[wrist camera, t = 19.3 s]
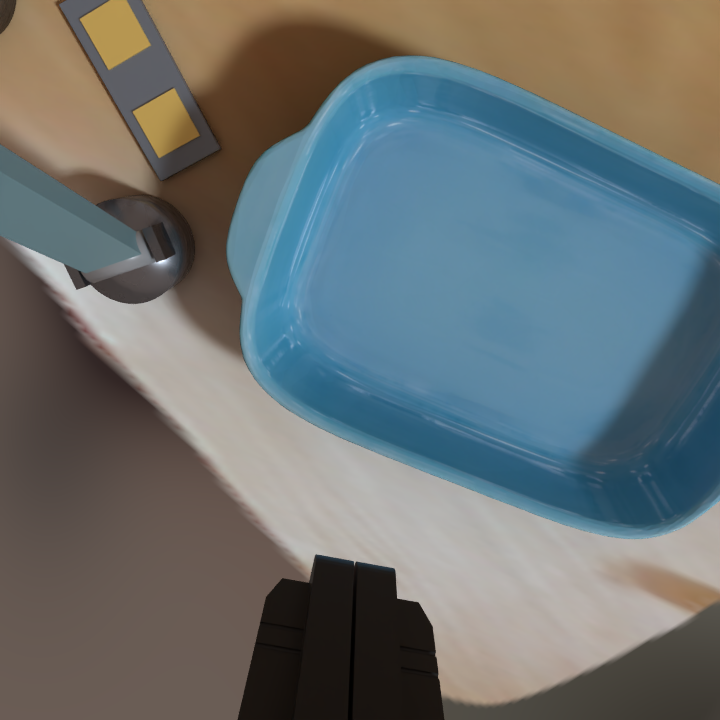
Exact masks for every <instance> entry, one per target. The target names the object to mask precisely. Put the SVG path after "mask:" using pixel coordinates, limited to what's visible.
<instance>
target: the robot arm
mask: <svg viewBox="0 0 720 720" xmlns="http://www.w3.org/2000/svg"><path fill="white" fill-rule="evenodd" d="M435 653H436V650H435V642H434V634H433V626H432V625H431V623H430V621H429V619H428V618H427V616H426V614H425V613H424V611H423V609H422V607H421V606H420V604H419V602H413V601H407V600H402V599H397V589H396V573H395V569H394V568H389V567H383V566H378V565H372V564H367V563H361V562H356V563H355V565H354V561H350V560H344V559H339V558H333V557H328V556H322V555H317V554H316V555H315V558H314V563H313V567H312V572H311V576H310V581H309V583H306V582H301V581H295V580H289V579H284V578H282V579H281V581H280V582H279V583H278V584H277V585H276V586H275V587H274V589H273V590H272V591H271V592H270V593H269V594H268V595H267V597H266V600H265V604H264V608H263V613H262V617H261V622H260V626H259V630H258V634H257V639H256V643H255V647H254V651H253V656H252V660H251V664H250V669H249V673H248V677H247V682H246V686H245V690H244V695H243V699H242V703H241V707H240V712H239V716H238V720H444V713H443V705H442V697H441V690H440V682H439V679H438V666H437V658H436V657H435Z"/></svg>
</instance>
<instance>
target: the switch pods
mask: <svg viewBox="0 0 720 720" xmlns="http://www.w3.org/2000/svg"><path fill="white" fill-rule="evenodd" d="M15 6H16V0H0V34H1V33H2V32H3V31H4V30H5V29H6V27H7V26H8V25H9V23H10V21H11V19H12V17H13V14H14V11H15ZM95 206H97V207H99V208H100V209H102V210H103V211H105V212H106V213H108V214H109V215H111V216H113V217H114V218H116V219H117V220H119V221H120V222H122V223H123V224H125V225H127V226H128V227H130V228H131V229H133V230H134V231H139V230H142V231H143V234H144V236H145V238H146V240H147V243H148V245H149V247H150V249H151V252H152V254H153V256H154V258H155V261H156V262H155V263H152V264H149V265H146V266H143V267H140V268H137V269H134V270H131V271H128V272H125V273H122V274H119V275H116V276H113V277H111V278H108V279H105V280H102V281H99V282H96V283H91V282H89V281H88V280H87V279H86V278H85V277H84V276H83V274H82V273H81V271H79V270H77V269H75V268H72V267H70V266H68V265H65V264H64V265H65V267H66V269H67V271H68V273H69V275H70V277H71V279H72V281H73V283H74V286H75V288H76V290H77V289H80V288H83V287H86V286H88V285H90V284H91V285H92V286H93V287H94V288H95V289H96V290H97V291H98V292H100V293H101V294H103V295H104V296H106V297H108V298H110V299H112V300H115V301H118V302H122V303H128V304H138V303H144V302H148V301H151V300H153V299H155V298H157V297H159V296H160V295H162V294H163V293H165V292H166V291H168V290H169V289H171V288H172V287H173V286H175V285H176V284H178V283H179V282H180V281H181V280H182V279H183V278H184V277H185V276H186V275H187V273H188V272H189V270H190V268H191V266H192V263H193V259H194V252H195V246H194V239H193V235H192V232H191V229H190V227H189V225H188V223H187V221H186V220H185V218H184V217H183V216H182V215H181V213H180V212H179V211H178V210H177V209H176V208H174V207H173V206H172V205H170V204H169V203H167V202H166V201H164V200H161V199H159V198H156V197H153V196H148V195H134V196H128V197H123V198H117V199H112V200H108V201H104V202H101V203H99V204H97V205H95Z"/></svg>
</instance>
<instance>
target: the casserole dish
mask: <svg viewBox="0 0 720 720" xmlns="http://www.w3.org/2000/svg"><path fill="white" fill-rule="evenodd" d="M226 256H227V263H228V267H229V270H230V273H231V276H232V279H233V281H234V283H235V285H236V287H237V289H238V291H239V293H240V295H241V299H242V306H241V316H240V344H241V349H242V354H243V358H244V360H245V363H246V365H247V367H248V369H249V371H250V372H251V374H252V375H253V377H254V379H255V380H256V381H257V382H258V384H259V385H260V386H261V387H262V388H263V389H264V390H265V391H266V392H267V393H268V394H269V395H270V396H271V397H272V398H273V399H274V400H276V401H277V402H278V403H279V404H280V405H282V406H283V407H285V408H286V409H288V410H289V411H291V412H292V413H294V414H296V415H297V416H299V417H301V418H302V419H304V420H306V421H308V422H310V423H311V424H313V425H315V426H317V427H319V428H321V429H323V430H325V431H327V432H330V433H332V434H334V435H336V436H338V437H340V438H342V439H345V440H347V441H349V442H352V443H354V444H357V445H359V446H361V447H364V448H366V449H369V450H371V451H374V452H376V453H379V454H381V455H383V456H386V457H388V458H391V459H393V460H396V461H399V462H401V463H404V464H406V465H409V466H411V467H414V468H416V469H419V470H421V471H424V472H426V473H429V474H431V475H434V476H437V477H439V478H442V479H445V480H447V481H450V482H452V483H455V484H458V485H460V486H463V487H465V488H468V489H470V490H473V491H476V492H478V493H481V494H483V495H486V496H488V497H491V498H493V499H496V500H499V501H501V502H504V503H507V504H509V505H512V506H515V507H517V508H520V509H522V510H525V511H527V512H530V513H533V514H535V515H538V516H541V517H543V518H546V519H549V520H552V521H555V522H558V523H561V524H563V525H566V526H570V527H573V528H576V529H579V530H583V531H587V532H591V533H595V534H599V535H604V536H608V537H615V538H623V539H645V538H652V537H657V536H661V535H665V534H668V533H671V532H673V531H676V530H678V529H681V528H683V527H685V526H686V525H688V524H689V523H691V522H693V521H694V520H695V519H697V518H698V517H699V516H701V515H702V514H703V513H705V512H706V511H707V510H709V509H710V508H711V507H712V506H714V505H715V504H716V503H717V502H719V501H720V184H718V183H716V182H714V181H712V180H710V179H708V178H706V177H704V176H702V175H699V174H697V173H695V172H693V171H691V170H689V169H687V168H685V167H683V166H681V165H679V164H677V163H675V162H673V161H671V160H669V159H667V158H664V157H662V156H660V155H658V154H656V153H654V152H652V151H650V150H648V149H646V148H644V147H642V146H640V145H638V144H636V143H634V142H632V141H630V140H628V139H626V138H624V137H622V136H620V135H618V134H616V133H613V132H611V131H609V130H607V129H605V128H603V127H601V126H599V125H597V124H595V123H593V122H591V121H589V120H587V119H585V118H583V117H581V116H579V115H577V114H575V113H573V112H571V111H569V110H567V109H565V108H563V107H561V106H559V105H557V104H554V103H552V102H550V101H548V100H546V99H544V98H542V97H540V96H538V95H536V94H534V93H532V92H529V91H527V90H525V89H522V88H520V87H518V86H516V85H513V84H511V83H509V82H507V81H504V80H502V79H500V78H498V77H495V76H492V75H490V74H487V73H485V72H482V71H480V70H477V69H474V68H471V67H468V66H465V65H462V64H459V63H456V62H452V61H448V60H444V59H440V58H436V57H427V56H394V57H389V58H385V59H381V60H378V61H375V62H372V63H369V64H366V65H365V66H363V67H361V68H359V69H357V70H355V71H354V72H353V73H351V74H350V75H349V76H348V77H346V78H345V79H344V80H343V81H341V82H340V83H339V84H338V85H337V87H336V88H335V89H334V90H333V91H332V92H331V93H330V94H329V96H328V97H327V98H326V99H325V101H324V102H323V104H322V105H321V106H320V108H319V109H318V111H317V112H316V114H315V115H314V117H313V118H312V120H311V121H310V123H309V124H308V125H307V126H306V127H305V128H304V129H302V130H300V131H298V132H296V133H294V134H292V135H291V136H289V137H287V138H285V139H283V140H281V141H279V142H278V143H276V144H274V145H273V146H271V147H270V148H269V149H267V150H266V151H265V152H264V153H263V154H262V155H261V156H260V157H259V158H258V159H257V160H256V162H255V163H254V165H253V166H252V168H251V170H250V172H249V174H248V176H247V178H246V180H245V183H244V185H243V188H242V190H241V193H240V195H239V198H238V201H237V204H236V207H235V210H234V213H233V216H232V220H231V224H230V227H229V231H228V237H227V243H226Z"/></svg>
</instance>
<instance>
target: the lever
mask: <svg viewBox="0 0 720 720" xmlns="http://www.w3.org/2000/svg"><path fill="white" fill-rule="evenodd" d="M0 236H2V237H5V238H7V239H9V240H11V241H14V242H16V243H18V244H20V245H23V246H25V247H27V248H29V249H32V250H34V251H36V252H38V253H41V254H43V255H45V256H47V257H50V258H52V259H54V260H56V261H59V262H61V263H63V264H65V265H68V266H70V267H72V268H75V269H77V270H79V271H81V273H82V274H83V276H84V277H85V278H86V279H87V280H88V281H89V282H91V283H96V282H99V281H102V280H105V279H108V278H111V277H113V276H116V275H119V274H122V273H125V272H128V271H131V270H134V269H137V268H140V267H143V266H146V265H149V264H152V263H155V262H156V261H155V258H154V256H153V254H152V252H151V249H150V247H149V245H148V243H147V240H146V238H145V236H144V234H143V231H142V230H139V231H134V230H133V229H131V228H130V227H128V226H127V225H125V224H123V223H122V222H120V221H119V220H117V219H116V218H114V217H113V216H111V215H109V214H108V213H106V212H105V211H103V210H102V209H100V208H99V207H97V206H95V205H94V204H92V203H91V202H89V201H88V200H86V199H85V198H83V197H82V196H80V195H78V194H77V193H75V192H74V191H72V190H71V189H69V188H68V187H66V186H64V185H63V184H61V183H60V182H58V181H57V180H55V179H54V178H52V177H50V176H49V175H47V174H46V173H44V172H43V171H41V170H40V169H38V168H36V167H35V166H33V165H32V164H30V163H29V162H27V161H26V160H24V159H22V158H21V157H19V156H18V155H16V154H15V153H13V152H12V151H10V150H8V149H7V148H5V147H4V146H2V145H1V144H0Z"/></svg>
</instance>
